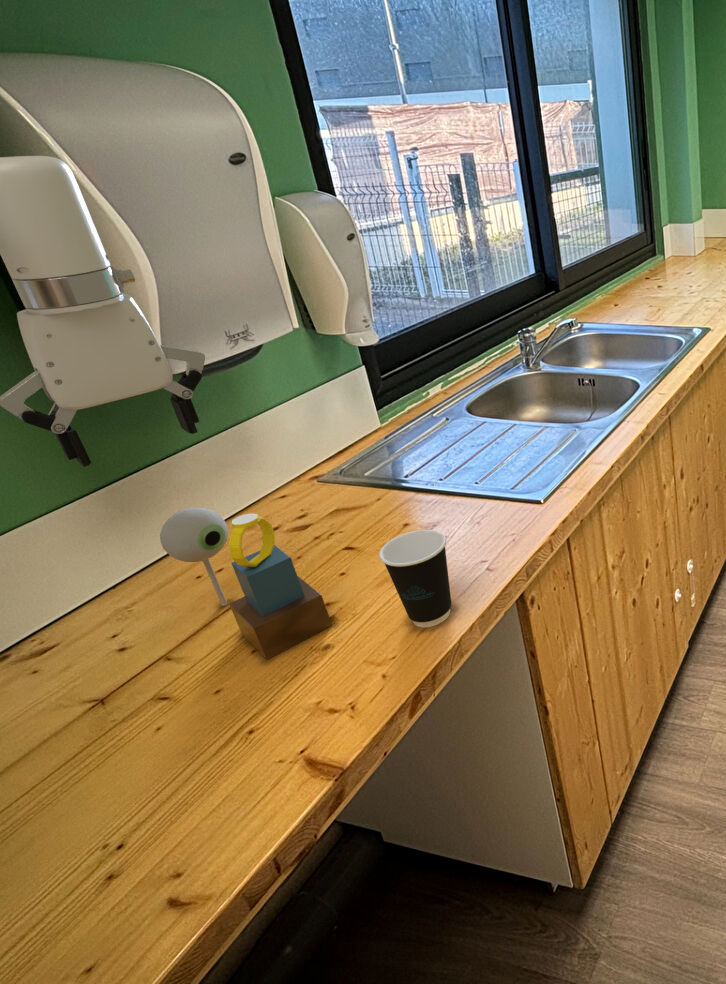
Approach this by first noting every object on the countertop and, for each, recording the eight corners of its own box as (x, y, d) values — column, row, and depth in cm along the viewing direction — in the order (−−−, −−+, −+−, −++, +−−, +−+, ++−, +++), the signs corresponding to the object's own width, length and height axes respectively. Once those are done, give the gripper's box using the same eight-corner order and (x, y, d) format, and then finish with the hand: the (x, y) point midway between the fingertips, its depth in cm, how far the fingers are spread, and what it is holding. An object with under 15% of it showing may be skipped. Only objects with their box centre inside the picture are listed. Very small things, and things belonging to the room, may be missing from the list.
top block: (262, 616, 86) (246, 577, 83) (247, 601, 89) (231, 562, 86) (304, 596, 89) (290, 557, 87) (288, 582, 92) (274, 544, 90)
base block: (266, 660, 86) (253, 628, 84) (241, 634, 91) (228, 603, 89) (332, 625, 92) (321, 594, 90) (305, 602, 96) (294, 572, 94)
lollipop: (219, 625, 93) (177, 529, 86) (181, 615, 95) (137, 521, 88) (266, 593, 99) (230, 501, 92) (229, 584, 101) (191, 494, 94)
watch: (254, 574, 84) (238, 532, 81) (232, 574, 84) (215, 533, 81) (285, 546, 89) (270, 506, 86) (264, 546, 89) (249, 506, 87)
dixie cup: (447, 589, 98) (429, 522, 93) (473, 614, 93) (456, 544, 88) (390, 616, 93) (369, 547, 88) (414, 644, 88) (393, 572, 83)
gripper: (161, 270, 77) (215, 413, 85) (-56, 305, 65) (29, 467, 73) (184, 278, 73) (239, 427, 80) (-44, 316, 61) (45, 487, 68)
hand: (139, 446), depth 77 cm, fingers open, 9 cm apart
